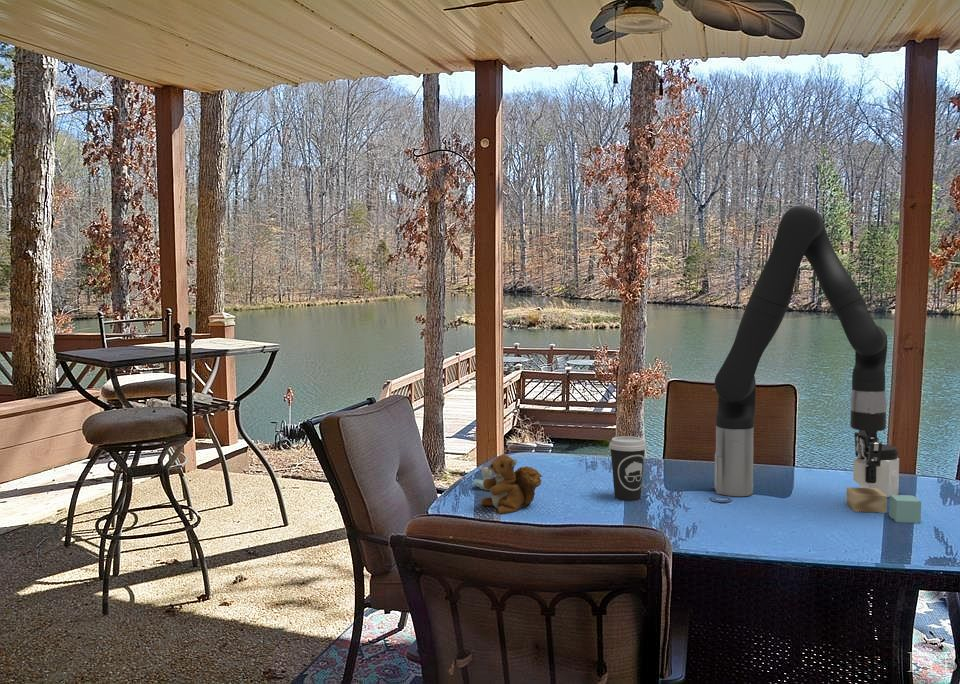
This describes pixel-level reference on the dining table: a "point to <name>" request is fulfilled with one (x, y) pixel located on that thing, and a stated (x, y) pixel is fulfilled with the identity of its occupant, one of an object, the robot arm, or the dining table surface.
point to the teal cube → (905, 508)
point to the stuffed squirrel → (510, 485)
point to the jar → (888, 471)
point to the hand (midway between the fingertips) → (867, 479)
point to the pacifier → (485, 476)
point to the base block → (866, 500)
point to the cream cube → (860, 473)
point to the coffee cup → (627, 466)
